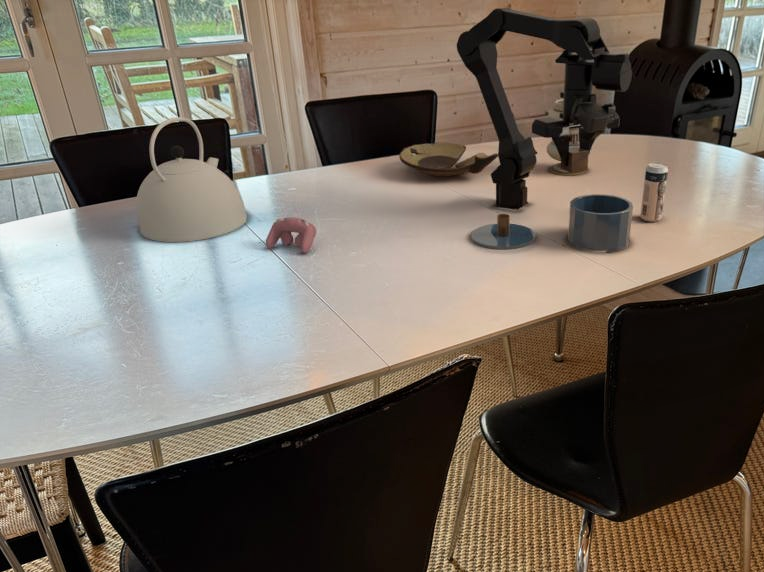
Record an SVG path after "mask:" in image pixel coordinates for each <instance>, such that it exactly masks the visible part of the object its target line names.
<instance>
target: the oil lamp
mask: <svg viewBox="0 0 764 572" xmlns="http://www.w3.org/2000/svg"><path fill="white" fill-rule="evenodd" d="M466 150H467V146H466V145H464V144H460V143H452V142H432V143H431V142H428V143H420V144H412V145H411V146H407V147H403V148H402V150H401V151H400V153H399V155H398V156H399V160H400V161H401V163H402V164H404V165H405V166H407V167H409V168H411V169H413V170H415V171H418V172H420V173H423V174H426V175H430V176H436V177H452V176H458V175H462V174H466V173H467V174H474V175H476V174H480V173H481V172H482V171H483V170H484V169H486V168H487V167H488V166H489V165H490V164H492V163H493V162H494V161H495V160H497V158H499V157H498V152H496V153H492V154H490V155H488V154H486V153H484V152H478V153H476V154H474V155H472V156H470V157H468V158H466V159H464V160H462V161H460V159H461V158H462V156H463V155H464V153H465V152H466ZM459 161H460V162H459ZM452 167H453V168H452Z"/></svg>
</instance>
